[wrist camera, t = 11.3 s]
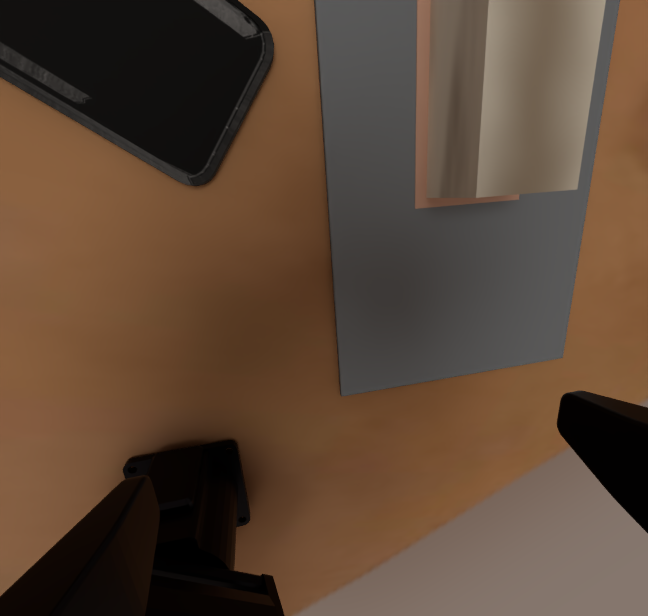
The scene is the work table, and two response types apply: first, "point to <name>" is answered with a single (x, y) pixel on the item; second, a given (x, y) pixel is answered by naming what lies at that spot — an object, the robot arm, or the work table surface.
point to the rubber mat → (432, 217)
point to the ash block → (509, 95)
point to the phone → (142, 72)
